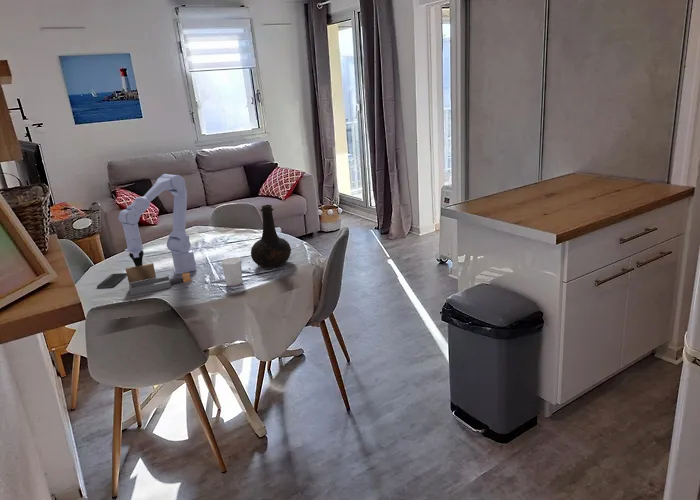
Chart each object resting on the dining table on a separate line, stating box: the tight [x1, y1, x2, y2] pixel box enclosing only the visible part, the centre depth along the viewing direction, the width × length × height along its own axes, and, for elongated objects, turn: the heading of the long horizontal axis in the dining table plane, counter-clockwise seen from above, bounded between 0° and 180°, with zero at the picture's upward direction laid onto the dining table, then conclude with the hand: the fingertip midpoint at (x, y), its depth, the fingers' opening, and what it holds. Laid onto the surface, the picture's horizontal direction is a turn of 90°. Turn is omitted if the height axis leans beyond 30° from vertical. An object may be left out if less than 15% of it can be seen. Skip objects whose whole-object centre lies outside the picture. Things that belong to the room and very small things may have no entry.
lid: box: [124, 262, 157, 284], centre depth 215 cm, size 11×8×1 cm
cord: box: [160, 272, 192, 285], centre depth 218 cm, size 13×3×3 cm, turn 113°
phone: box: [96, 272, 127, 289], centre depth 226 cm, size 8×1×15 cm
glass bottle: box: [250, 204, 292, 269], centre depth 228 cm, size 18×18×28 cm
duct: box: [128, 275, 172, 296], centre depth 215 cm, size 16×8×3 cm, turn 113°
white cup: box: [221, 257, 243, 287], centre depth 213 cm, size 8×8×10 cm
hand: (139, 268), depth 214 cm, fingers closed, pressing on lid
